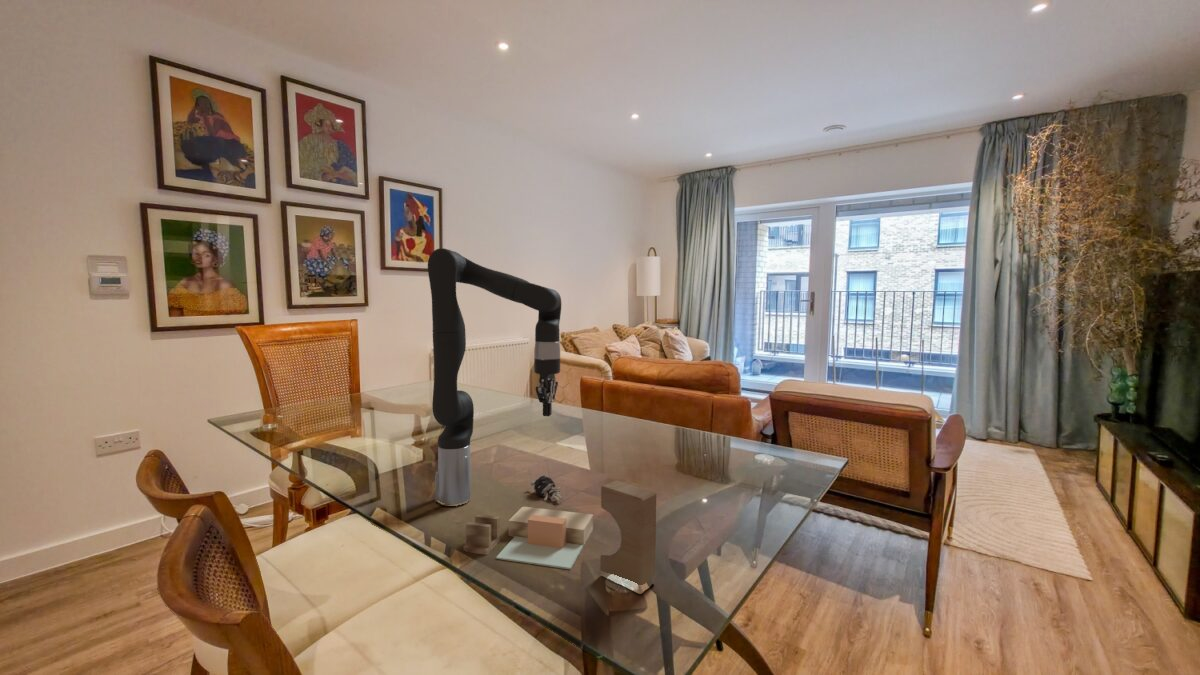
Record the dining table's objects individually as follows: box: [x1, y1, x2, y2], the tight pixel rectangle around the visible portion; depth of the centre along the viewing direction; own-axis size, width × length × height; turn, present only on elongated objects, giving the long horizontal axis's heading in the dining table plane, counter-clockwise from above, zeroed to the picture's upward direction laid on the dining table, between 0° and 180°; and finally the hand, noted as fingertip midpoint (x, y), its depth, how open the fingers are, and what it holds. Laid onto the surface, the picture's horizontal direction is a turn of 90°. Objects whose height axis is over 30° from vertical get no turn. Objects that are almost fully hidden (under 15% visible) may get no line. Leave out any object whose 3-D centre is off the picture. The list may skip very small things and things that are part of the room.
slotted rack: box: [463, 513, 503, 556], centre depth 113 cm, size 6×8×6 cm
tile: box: [528, 515, 566, 548], centre depth 114 cm, size 9×6×3 cm
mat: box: [495, 536, 584, 570], centre depth 110 cm, size 18×10×1 cm, turn 76°
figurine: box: [529, 475, 564, 504], centre depth 144 cm, size 7×6×15 cm
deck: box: [508, 506, 594, 547], centre depth 120 cm, size 20×9×4 cm, turn 76°
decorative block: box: [599, 479, 657, 585], centre depth 99 cm, size 11×6×20 cm, turn 49°
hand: (547, 415), depth 136 cm, fingers closed
